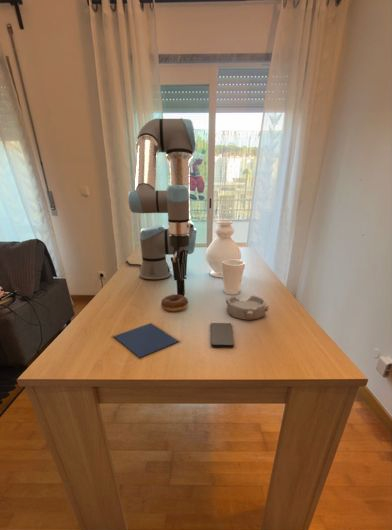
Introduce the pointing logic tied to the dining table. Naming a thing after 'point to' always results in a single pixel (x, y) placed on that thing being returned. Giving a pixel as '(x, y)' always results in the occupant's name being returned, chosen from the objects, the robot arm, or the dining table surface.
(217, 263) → the decorative vase
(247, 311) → the dish
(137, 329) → the cloth
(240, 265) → the foam cup
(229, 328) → the smartphone
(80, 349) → the dining table surface
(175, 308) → the donut
